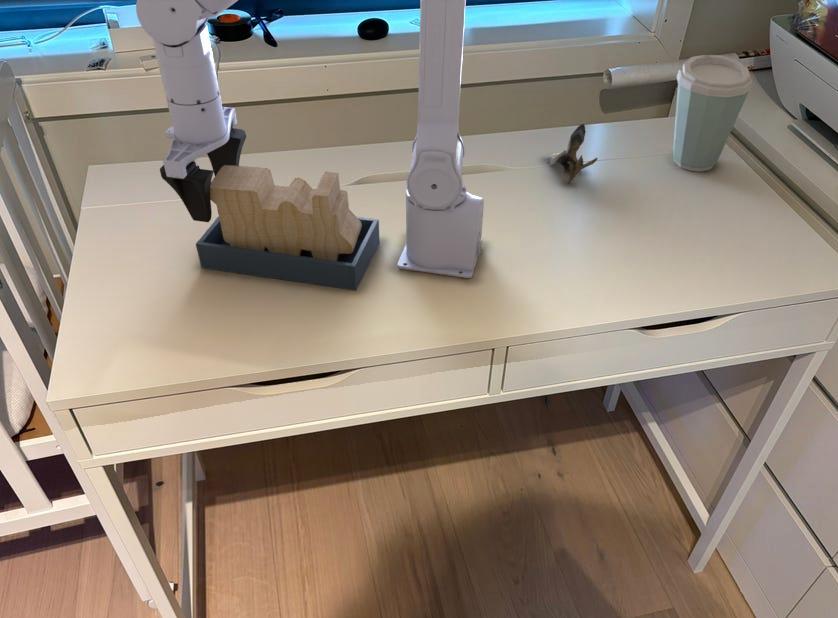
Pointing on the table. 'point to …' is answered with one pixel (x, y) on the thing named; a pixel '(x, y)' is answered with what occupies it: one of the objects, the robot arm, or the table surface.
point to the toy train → (284, 213)
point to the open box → (291, 259)
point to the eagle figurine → (571, 155)
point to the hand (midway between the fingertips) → (215, 203)
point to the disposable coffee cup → (707, 108)
